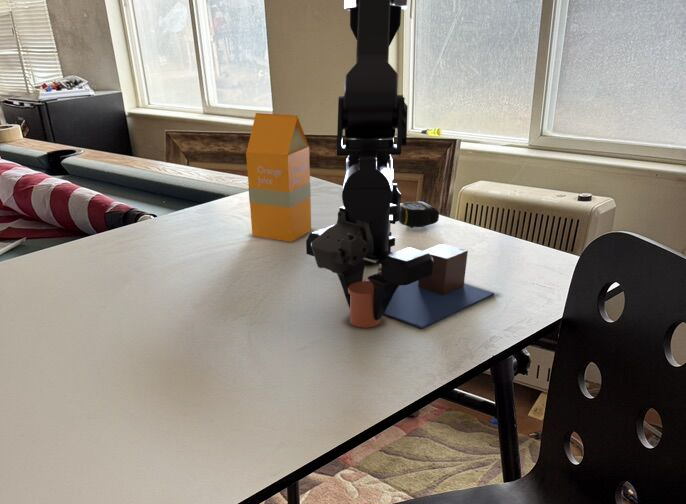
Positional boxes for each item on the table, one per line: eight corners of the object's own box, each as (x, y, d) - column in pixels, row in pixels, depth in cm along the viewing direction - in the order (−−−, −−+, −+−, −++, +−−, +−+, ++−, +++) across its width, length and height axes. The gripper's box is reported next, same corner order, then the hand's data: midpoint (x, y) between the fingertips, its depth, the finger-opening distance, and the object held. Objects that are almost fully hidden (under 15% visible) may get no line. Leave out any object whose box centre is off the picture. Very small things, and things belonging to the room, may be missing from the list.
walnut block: (418, 287, 108) (420, 251, 104) (438, 278, 110) (441, 243, 107) (443, 295, 105) (447, 259, 101) (463, 286, 107) (467, 250, 104)
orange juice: (291, 241, 128) (286, 119, 115) (251, 235, 132) (242, 116, 119) (312, 230, 133) (309, 111, 121) (273, 224, 137) (266, 109, 124)
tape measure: (439, 228, 131) (441, 207, 129) (406, 232, 130) (407, 211, 128) (423, 218, 137) (425, 198, 134) (391, 222, 135) (392, 202, 133)
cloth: (354, 304, 104) (354, 302, 104) (427, 274, 113) (427, 272, 113) (421, 329, 96) (421, 327, 96) (494, 294, 105) (494, 293, 105)
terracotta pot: (340, 321, 99) (340, 287, 96) (364, 311, 102) (365, 278, 99) (365, 331, 96) (366, 297, 93) (390, 321, 99) (391, 286, 96)
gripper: (273, 198, 90) (279, 313, 100) (379, 227, 79) (374, 353, 89) (334, 181, 96) (335, 291, 105) (441, 206, 85) (430, 326, 94)
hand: (365, 314), depth 98 cm, fingers closed on terracotta pot, 4 cm apart
